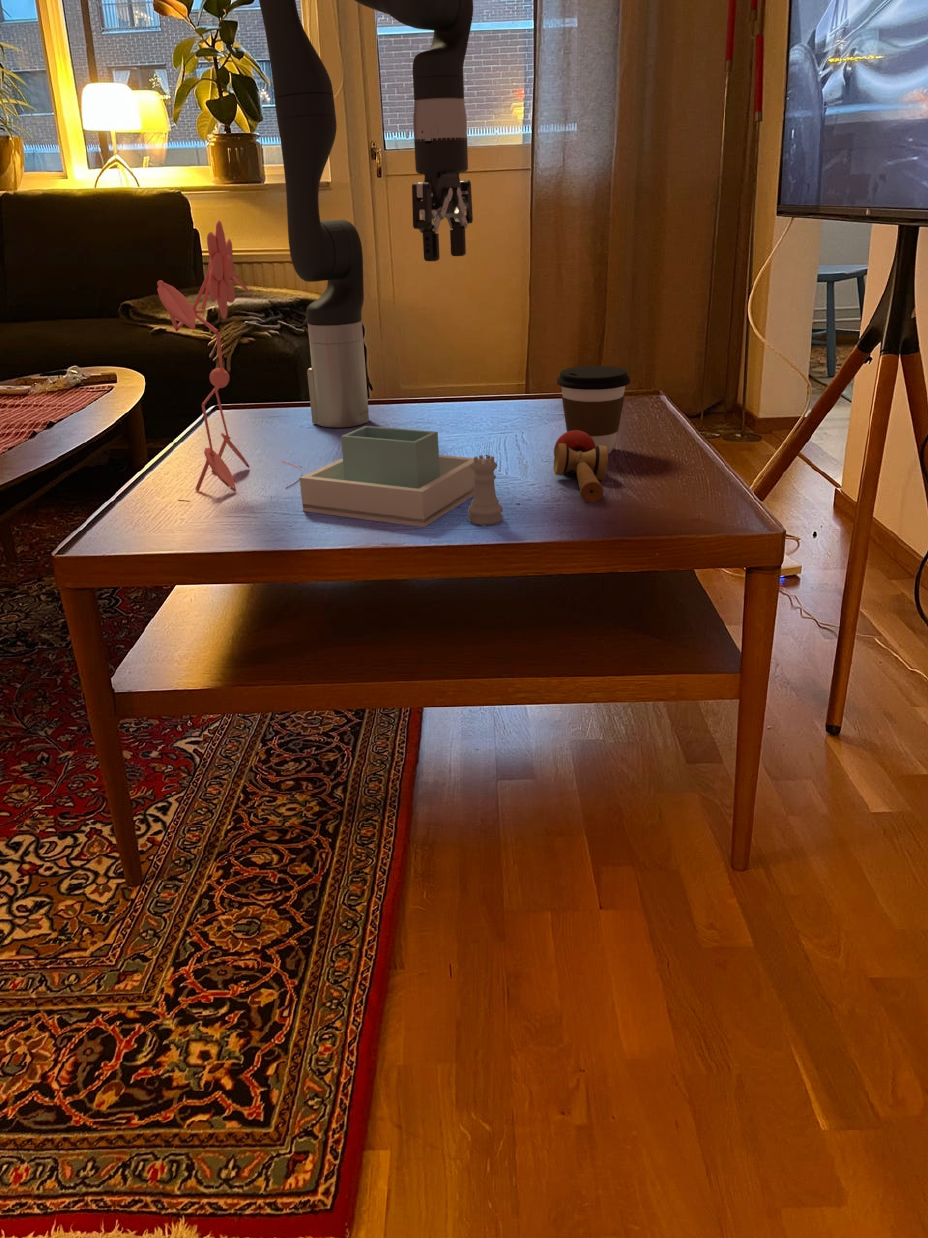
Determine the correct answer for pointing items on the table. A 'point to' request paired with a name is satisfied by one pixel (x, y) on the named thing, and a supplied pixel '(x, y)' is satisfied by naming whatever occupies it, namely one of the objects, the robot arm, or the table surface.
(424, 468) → the teal tote
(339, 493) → the beige tray
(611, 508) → the table surface
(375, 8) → the robot arm
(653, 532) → the table surface
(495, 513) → the rook chess piece
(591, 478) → the kendama
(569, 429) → the coffee cup
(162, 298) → the pink thin branched figure
